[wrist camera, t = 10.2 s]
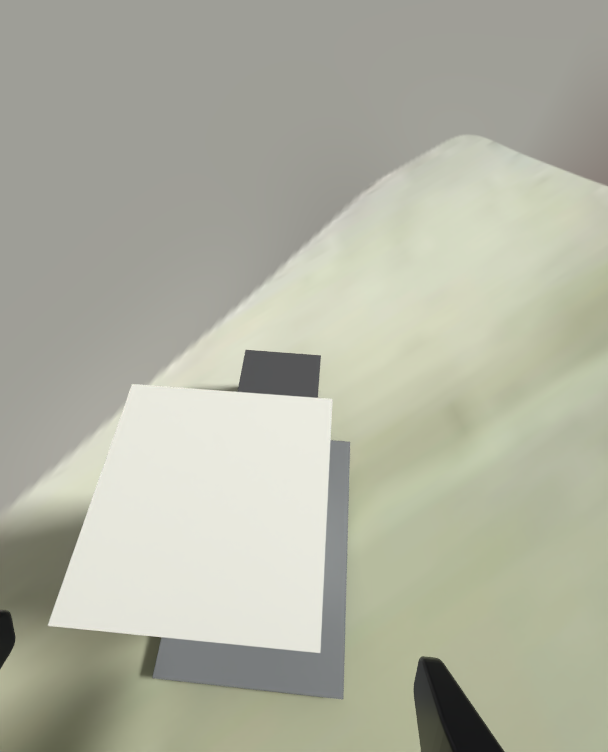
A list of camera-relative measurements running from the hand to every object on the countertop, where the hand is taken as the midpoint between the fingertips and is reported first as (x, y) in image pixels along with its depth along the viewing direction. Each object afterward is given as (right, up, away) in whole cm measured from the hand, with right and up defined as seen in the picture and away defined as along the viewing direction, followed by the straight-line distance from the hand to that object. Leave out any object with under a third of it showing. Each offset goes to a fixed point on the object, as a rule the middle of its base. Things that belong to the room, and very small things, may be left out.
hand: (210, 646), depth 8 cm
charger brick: (0, -2, +10) cm, 10 cm away
